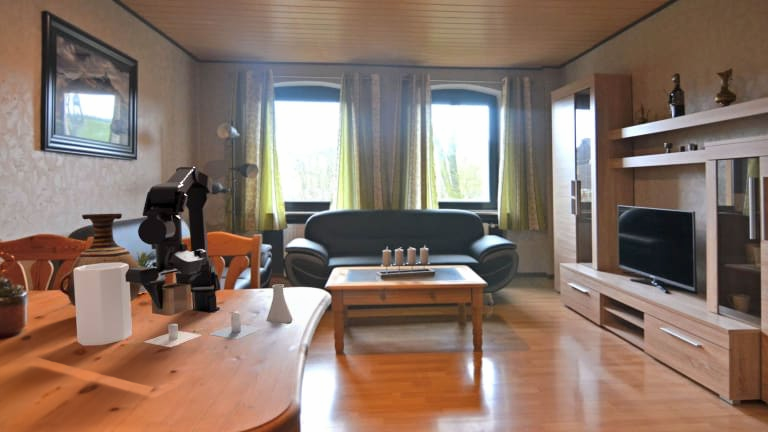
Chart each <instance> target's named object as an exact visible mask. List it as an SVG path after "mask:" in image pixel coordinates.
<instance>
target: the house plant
mask: <svg viewBox="0 0 768 432" xmlns="http://www.w3.org/2000/svg"><path fill="white" fill-rule="evenodd" d="M134 252H135V253H136V255H137V260H138V261H137V264H138V265H139V266H141V267H153V265H152V263H151V261H152V260H153V258H154V257H156V249H154V250H152V251H151V252H150V253H147V251H145V252H144V250H142V251H141V252H140V254H139V252H138V251H137V249H134ZM152 255H153V256H152ZM134 259H135V257H134ZM135 260H136V259H135ZM145 291H147V290H146V289H145V288H144V286H143V285H142V286H141V287H140V290H139V292H145Z"/></svg>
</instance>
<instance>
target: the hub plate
mask: <svg viewBox="0 0 768 432" xmlns="http://www.w3.org/2000/svg"><path fill="white" fill-rule="evenodd" d="M241 322H242V320H241V313H240V312H239V311H233V312H232V313H231V315H230V324H231V325H230V326H227V327H224V328H222V329H219V330H216V331H214V332H211V333H208V335H209V336H214V337H215V336H216V337H221V338H228V339H231V340H232V339H233V340H239V339H241V338H243V337H246V336H248V335H250V334H253V333H255V332H258V331H260V330H262V329H264V328H263V327H257V326H251V325H250V326H249V325H244V324H241Z"/></svg>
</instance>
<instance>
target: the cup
mask: <svg viewBox="0 0 768 432" xmlns="http://www.w3.org/2000/svg"><path fill="white" fill-rule="evenodd" d="M128 269H129V265H128V264H125V263H100V264H92V265H84V266H81V267H77V268H75V269H73V271H74V288H75V305H76V306H75V316H76V317H75V321H76V335H77V336H76V337H77V343H79V344H81V345H82V346H104V345H108V344H111V343H117V342H121V341H124V340H126V339H127V338H129V337H130V336H131V335H133V326H132V325H133V323H132V307H131V302H132V301H130V282H126V278H125V274H126V272H127V271H128Z"/></svg>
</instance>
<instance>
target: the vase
mask: <svg viewBox="0 0 768 432" xmlns="http://www.w3.org/2000/svg"><path fill="white" fill-rule="evenodd" d="M122 216H123V215H122V213H117V212H116V213H88V214H87V213H85V214H84V213H83V214H81V218H82V219H83V220H90V221H91V223H92V225H93V226H92V227H93V240H92V243H91V245H90V247H89V248H87V249H85V250H84V251H82V252H81V253H80V254H79V255H78V256H77V258H76V259H75V261H74V262H73V265H72V266H71V270H70V271H69V272H67V273H65V274H64V275H63V276H62V277H61V278H60V281H59V286H58V288H59V290H60V292H62V293H63V294H64V295H66V296H67V297H68V300H69V302H70V303H71V304H72V306H73V307H76V305H75V288H74V271H73V269H75V268H77V267H81V266H84V265H92V264H100V263H125V264H128V265H129V269H131V268H137V267H141V266H139V265H138V264H137V263H138V261H136V259H134V258H135V257H134V256H133V255H132V254H131V252H130V251H129V250H127V249H126V248H125V247H123V246H121V245H118V244H117V243H116V241H115V239H114V236H113V235H114V233H113V230H114V229H113V227H114V222H115V220H120V219H122ZM65 280H68V281H67V288H66V289H64V287H63V286H64V282H65ZM141 286H142V284H140V283H133V282H130V301H131V302H132V301H134V300H135V299H137V297H138V293H139V290H140V287H141Z"/></svg>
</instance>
